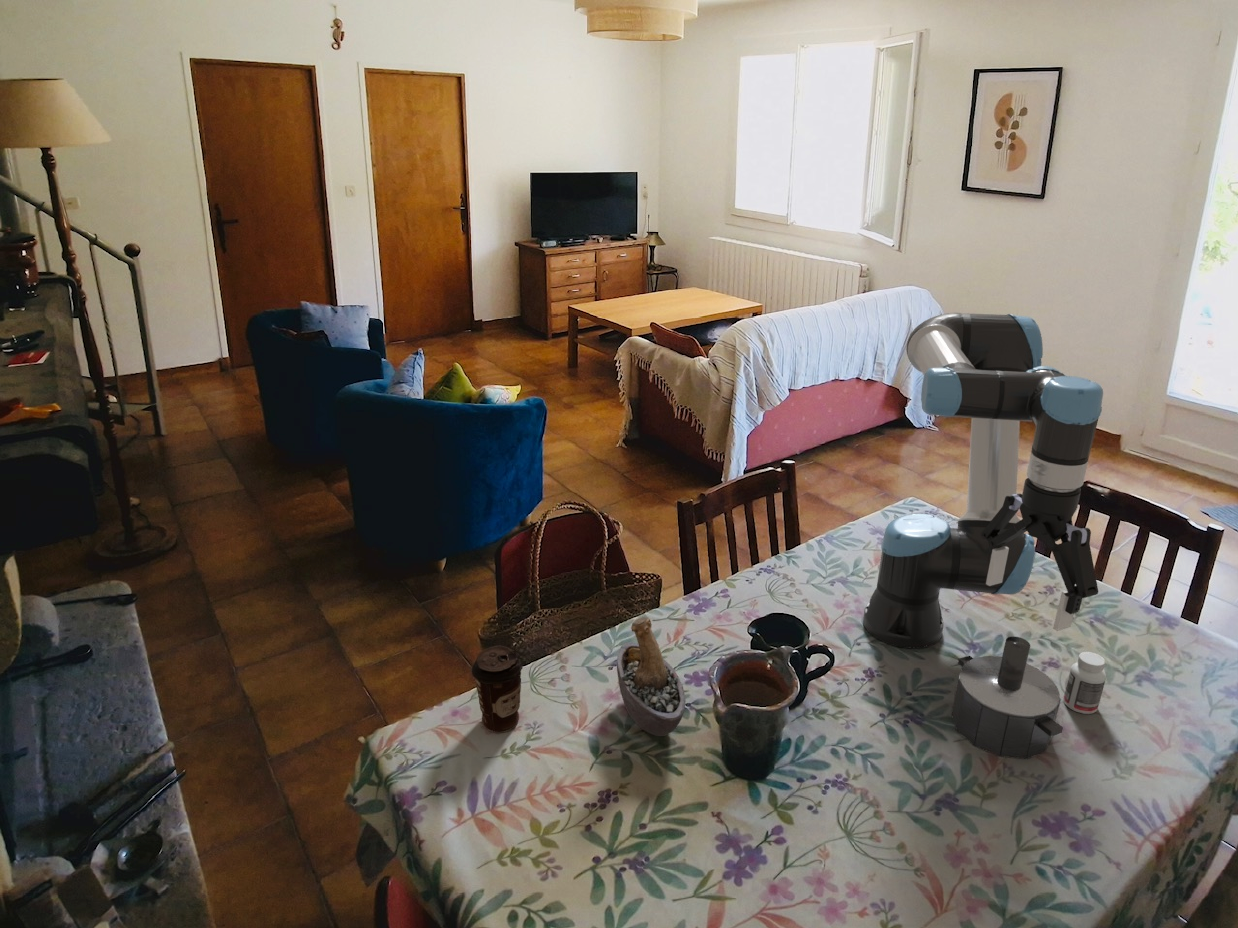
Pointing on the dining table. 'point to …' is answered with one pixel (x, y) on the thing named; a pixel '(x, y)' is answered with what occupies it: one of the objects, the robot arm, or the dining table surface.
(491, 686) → the dark brown can
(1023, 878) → the dining table surface
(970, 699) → the pot
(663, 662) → the planter
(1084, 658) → the pill bottle
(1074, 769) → the dining table surface
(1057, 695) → the lid
